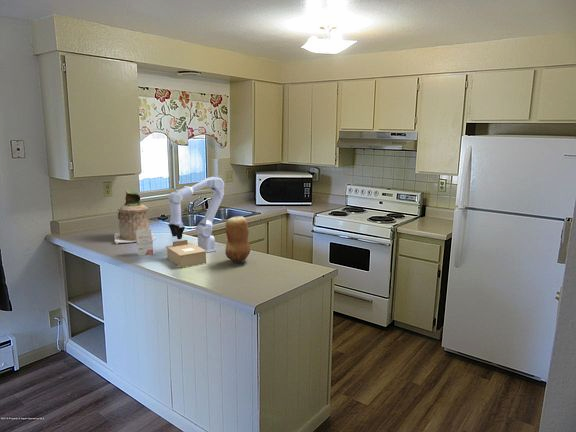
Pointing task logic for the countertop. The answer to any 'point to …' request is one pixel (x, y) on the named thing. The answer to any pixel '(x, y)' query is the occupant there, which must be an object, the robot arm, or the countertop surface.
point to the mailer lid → (185, 248)
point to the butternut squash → (237, 239)
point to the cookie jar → (131, 219)
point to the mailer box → (186, 259)
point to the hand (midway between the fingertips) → (177, 237)
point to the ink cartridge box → (144, 242)
